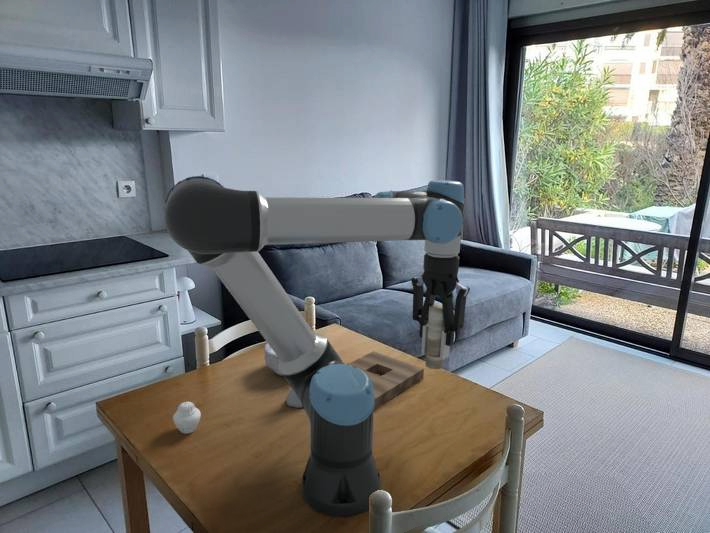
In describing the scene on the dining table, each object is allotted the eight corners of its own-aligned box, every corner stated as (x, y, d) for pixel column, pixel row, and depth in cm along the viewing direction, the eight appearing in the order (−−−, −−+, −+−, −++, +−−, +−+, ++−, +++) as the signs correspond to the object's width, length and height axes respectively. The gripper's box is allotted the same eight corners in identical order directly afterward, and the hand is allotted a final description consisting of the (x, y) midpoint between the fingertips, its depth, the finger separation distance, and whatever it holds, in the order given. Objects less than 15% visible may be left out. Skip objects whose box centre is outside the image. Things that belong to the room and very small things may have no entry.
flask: (312, 409, 124) (312, 372, 122) (283, 408, 124) (282, 371, 122) (315, 394, 131) (315, 359, 129) (288, 394, 131) (287, 359, 129)
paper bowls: (259, 364, 149) (258, 339, 147) (307, 355, 155) (306, 331, 153) (273, 386, 136) (272, 359, 134) (325, 376, 142) (325, 350, 140)
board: (371, 411, 123) (371, 400, 123) (318, 388, 134) (318, 378, 134) (423, 378, 141) (423, 368, 141) (373, 360, 152) (373, 351, 152)
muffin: (186, 440, 111) (184, 412, 109) (168, 432, 114) (165, 404, 112) (207, 427, 116) (205, 400, 114) (189, 419, 119) (187, 393, 117)
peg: (437, 371, 110) (441, 311, 107) (421, 365, 113) (425, 307, 109) (447, 365, 113) (451, 306, 110) (431, 359, 116) (434, 302, 113)
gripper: (486, 257, 104) (477, 360, 110) (417, 245, 115) (412, 339, 121) (470, 263, 99) (461, 371, 104) (398, 250, 109) (394, 349, 115)
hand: (435, 354), depth 112 cm, fingers closed on peg, 4 cm apart
